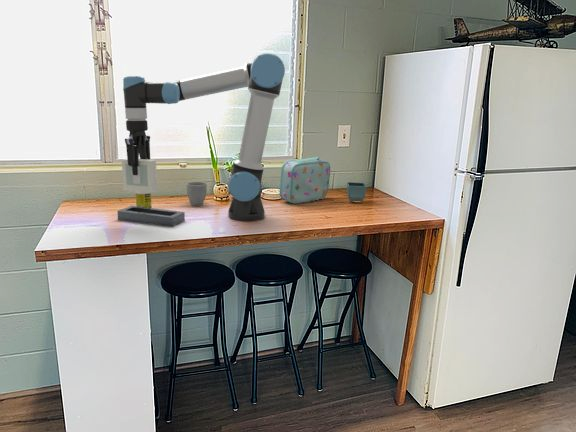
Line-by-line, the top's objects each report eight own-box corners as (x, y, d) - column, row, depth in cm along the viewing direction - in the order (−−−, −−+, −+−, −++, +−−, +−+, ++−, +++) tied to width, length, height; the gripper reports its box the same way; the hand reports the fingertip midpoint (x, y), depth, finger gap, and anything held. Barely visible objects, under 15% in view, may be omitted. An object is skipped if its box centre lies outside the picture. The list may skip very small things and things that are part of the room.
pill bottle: (147, 212, 196) (146, 186, 193) (133, 211, 197) (132, 185, 194) (154, 209, 202) (153, 183, 199) (141, 207, 203) (140, 182, 200)
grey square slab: (157, 191, 180) (156, 159, 177) (151, 193, 176) (150, 161, 173) (129, 188, 183) (127, 158, 180) (123, 190, 179) (121, 159, 176)
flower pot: (365, 204, 227) (367, 186, 225) (347, 203, 227) (348, 185, 225) (363, 200, 235) (364, 182, 233) (345, 199, 235) (346, 182, 233)
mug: (209, 205, 212) (209, 184, 209) (190, 207, 207) (190, 186, 205) (200, 200, 222) (200, 179, 219) (182, 201, 218) (182, 180, 215)
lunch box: (315, 195, 242) (318, 154, 236) (330, 199, 234) (333, 156, 229) (276, 202, 224) (278, 157, 219) (291, 206, 217) (293, 160, 211)
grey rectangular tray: (184, 220, 187) (184, 212, 186) (172, 226, 178) (172, 217, 177) (132, 213, 193) (131, 205, 192) (117, 219, 184) (117, 210, 183)
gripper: (140, 118, 182) (144, 177, 188) (113, 120, 166) (118, 185, 172) (157, 118, 180) (161, 178, 186) (132, 121, 164) (137, 187, 170)
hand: (140, 182), depth 179 cm, fingers closed on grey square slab, 4 cm apart
